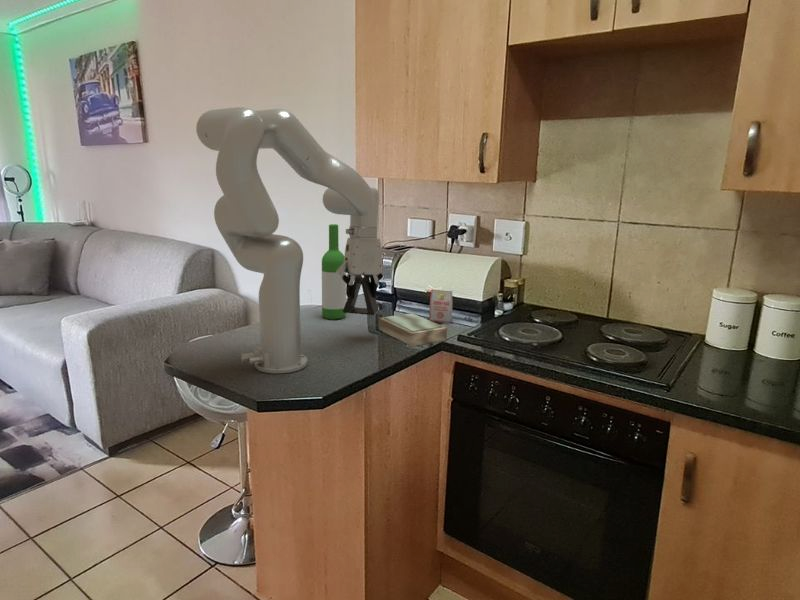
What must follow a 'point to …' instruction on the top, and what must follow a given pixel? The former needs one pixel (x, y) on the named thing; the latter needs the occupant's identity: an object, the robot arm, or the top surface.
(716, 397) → the top surface
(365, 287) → the dark brown arched piece
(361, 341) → the top surface
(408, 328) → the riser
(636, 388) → the top surface
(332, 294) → the wine bottle
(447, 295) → the small printed carton
